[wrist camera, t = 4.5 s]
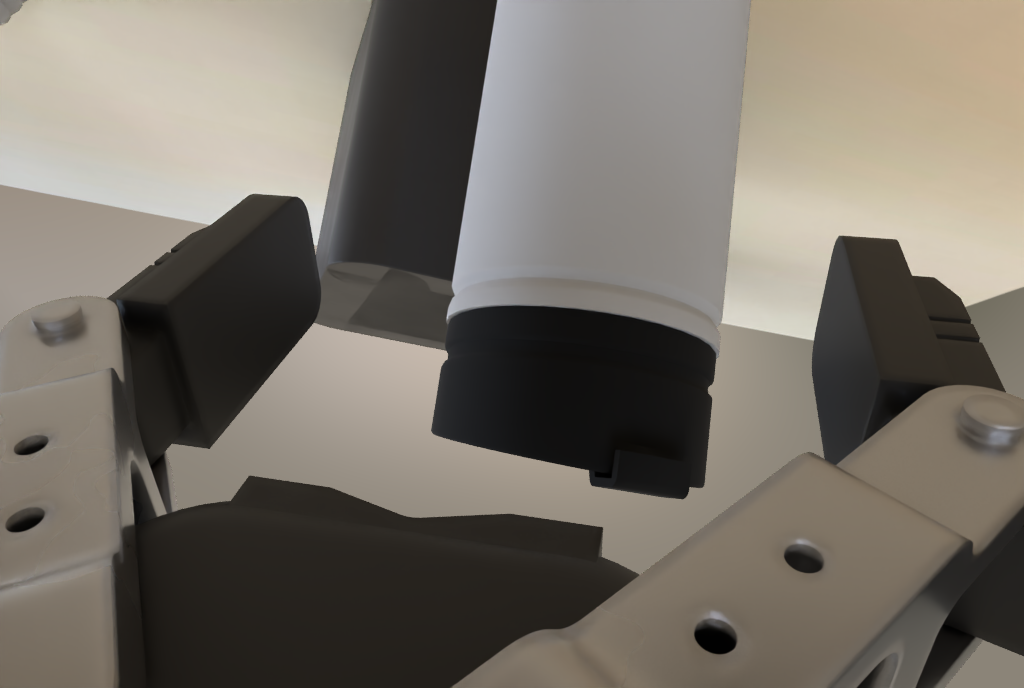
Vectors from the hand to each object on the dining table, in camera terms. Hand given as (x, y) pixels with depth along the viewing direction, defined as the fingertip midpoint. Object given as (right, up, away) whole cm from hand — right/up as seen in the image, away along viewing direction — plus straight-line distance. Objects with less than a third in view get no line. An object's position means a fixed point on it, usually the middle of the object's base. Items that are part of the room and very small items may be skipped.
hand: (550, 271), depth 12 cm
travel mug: (+3, +15, +9) cm, 18 cm away
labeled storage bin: (+1, +12, +27) cm, 30 cm away
